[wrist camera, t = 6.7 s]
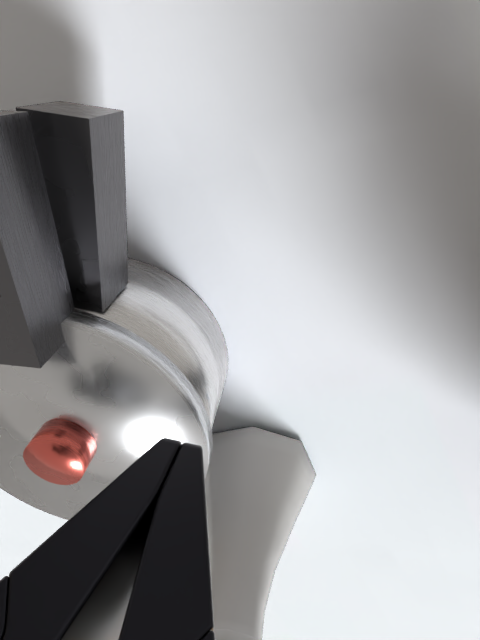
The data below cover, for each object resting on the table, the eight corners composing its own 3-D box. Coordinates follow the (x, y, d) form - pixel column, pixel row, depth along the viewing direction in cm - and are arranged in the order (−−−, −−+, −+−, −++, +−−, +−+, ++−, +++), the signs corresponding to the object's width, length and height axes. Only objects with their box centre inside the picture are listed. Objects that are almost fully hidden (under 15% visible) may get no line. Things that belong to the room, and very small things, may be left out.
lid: (216, 523, 20) (205, 577, 18) (-3, 491, 22) (-38, 537, 20) (198, 114, 11) (170, 126, 9) (-184, 107, 12) (-286, 115, 10)
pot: (214, 474, 27) (195, 551, 22) (49, 439, 27) (0, 508, 23) (260, 122, 16) (240, 143, 11) (-17, 80, 16) (-132, 85, 12)
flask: (191, 419, 24) (126, 606, 16) (318, 426, 23) (319, 634, 15) (205, 498, 28) (158, 684, 20) (314, 508, 27) (314, 711, 18)
